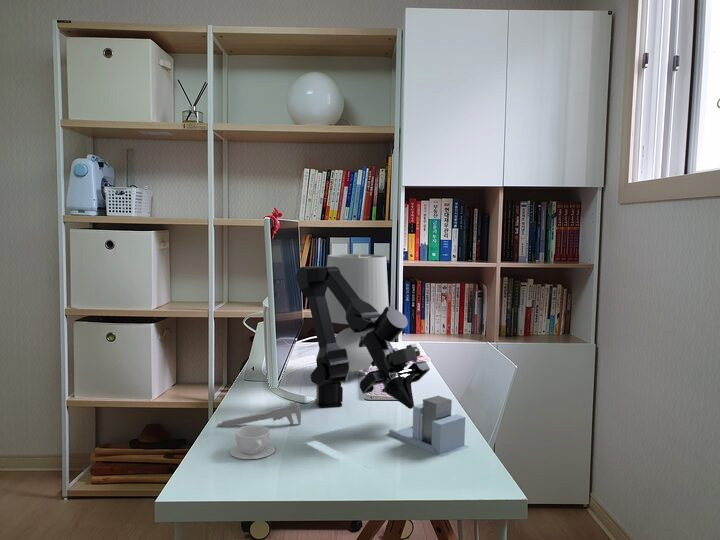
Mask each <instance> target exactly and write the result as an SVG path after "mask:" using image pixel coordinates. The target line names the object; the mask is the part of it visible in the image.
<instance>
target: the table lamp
mask: <svg viewBox="0 0 720 540" xmlns="http://www.w3.org/2000/svg"><path fill="white" fill-rule="evenodd" d="M326 261H327V262H326V267H327V266H336V267H338V268H339V270H340V273H341V275H342V276H343V277H344V278H345V280H346V281H347V282H348V284H349V285H350V286H351V287H352V289H353V290H354V291H355V293H356V294H357V295H358V297H359V298H360V299H361V300H363V301H365V302H367V303H369V304H370V305H372V306H373V307H374V308H375V309H376V310H377V311H378V313H379V314H382V313H383V311H384V309H385V308H386V307H389V306H390V303H389V285H388V270H387V267H388V266H387V265H388V264H387V256H385V255H380V254H366V253H365V254H364V253H363V254H362V253H361V254H360V253H344V254H343V253H340V254H339V253H335V254H328V255H327V260H326ZM325 296H326V301H327V305H328V309H329V313H330V317H331V321H332V324H341V325H349V324H348V322H347V320H346V312H345V310H344V308H343V307H342V305H341V304H340V303H339V301H338V300H337V299H336V297H335V296H334V294H333V293H332V292H331V290H330V289H329V288H328V287H327V290H326V293H325ZM368 332H369V331H367V332H360V333H355V332H353V331H352V329H351V328H350V326H349V327H347V328H344V329H343V330H341V331H340V332H338V333H337V334H336V335H335V338H336V342H337V345H338V346H339V347H340V348H341V349H343V348H345V349H346V351H347V357H348V360H349V362H350V363H349V370H348V374H347V378H346V381H343V382H346V383H347V381H348V378H349V373H350V372H353V374H354V375H359V372H360V371H362V373H363V374H364V372H370V367H371V366H372V365H371V362H372V361H373V359H372V357H371V355H370V354H369V352H368V350H367V348H366V347H359V342H360V339H361V336H365V335H366V334H367V333H368Z"/></svg>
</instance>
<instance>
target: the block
mask: <svg viewBox="0 0 720 540" xmlns="http://www.w3.org/2000/svg"><path fill="white" fill-rule="evenodd" d="M452 400H453V399H450V398H447V397H443V396H441V395H436V396H435V395H434V396H432V397H428V398H424V399H423V400H422V404H423V420H422V442H425V443H427V444H430V445H432V421H436V420H439V419H442V418H446V417H449V416H452V405H453V404H452V402H453V401H452Z"/></svg>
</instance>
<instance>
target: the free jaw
mask: <svg viewBox="0 0 720 540" xmlns="http://www.w3.org/2000/svg"><path fill="white" fill-rule="evenodd" d="M412 410H413V411H412V426H413V436H412V437H413V438H415V439H417V440H420V441H422V420H423V403H420V404H416V405H414V406H413V408H412Z"/></svg>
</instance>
